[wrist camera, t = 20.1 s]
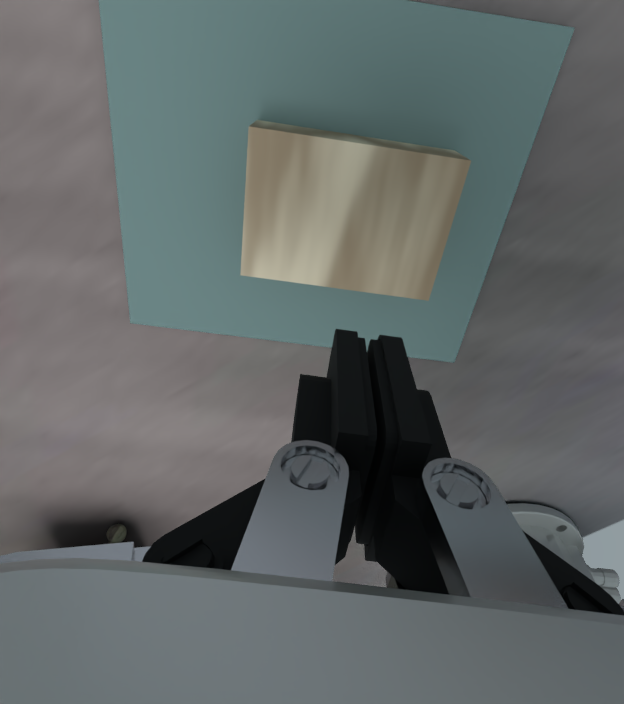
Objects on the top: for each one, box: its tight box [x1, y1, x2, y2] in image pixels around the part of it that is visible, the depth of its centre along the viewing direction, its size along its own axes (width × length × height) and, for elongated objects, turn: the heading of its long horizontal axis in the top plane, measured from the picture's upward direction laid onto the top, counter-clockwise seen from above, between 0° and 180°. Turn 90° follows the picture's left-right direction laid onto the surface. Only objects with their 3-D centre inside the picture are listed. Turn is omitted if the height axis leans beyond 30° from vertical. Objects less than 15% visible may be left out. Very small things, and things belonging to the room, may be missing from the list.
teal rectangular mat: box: [99, 0, 575, 363], centre depth 24 cm, size 21×18×1 cm
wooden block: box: [240, 120, 471, 301], centre depth 23 cm, size 3×7×10 cm
